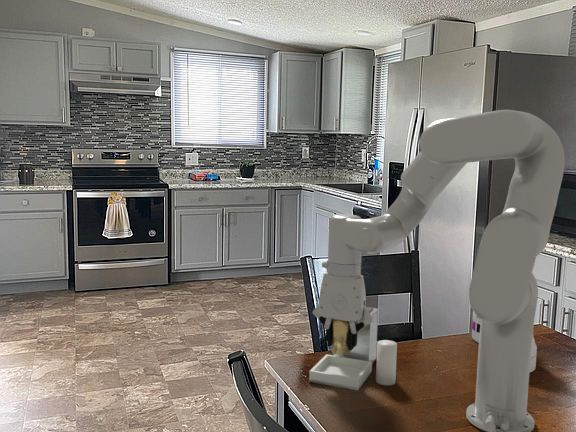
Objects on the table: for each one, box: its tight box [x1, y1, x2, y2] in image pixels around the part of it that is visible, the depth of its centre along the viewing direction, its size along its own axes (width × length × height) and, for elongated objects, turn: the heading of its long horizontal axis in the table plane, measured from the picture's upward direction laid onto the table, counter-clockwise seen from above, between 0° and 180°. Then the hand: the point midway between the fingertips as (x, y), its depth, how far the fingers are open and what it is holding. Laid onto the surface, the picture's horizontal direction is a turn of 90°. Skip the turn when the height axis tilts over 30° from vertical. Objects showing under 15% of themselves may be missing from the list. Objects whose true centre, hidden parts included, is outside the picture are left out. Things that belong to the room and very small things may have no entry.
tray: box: [308, 353, 373, 392], centre depth 133 cm, size 11×11×2 cm
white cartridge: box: [375, 339, 398, 386], centre depth 131 cm, size 4×4×9 cm
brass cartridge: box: [330, 319, 351, 355], centre depth 132 cm, size 4×4×9 cm
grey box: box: [333, 306, 379, 364], centre depth 143 cm, size 7×9×13 cm
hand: (341, 345), depth 133 cm, fingers closed on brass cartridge, 4 cm apart
